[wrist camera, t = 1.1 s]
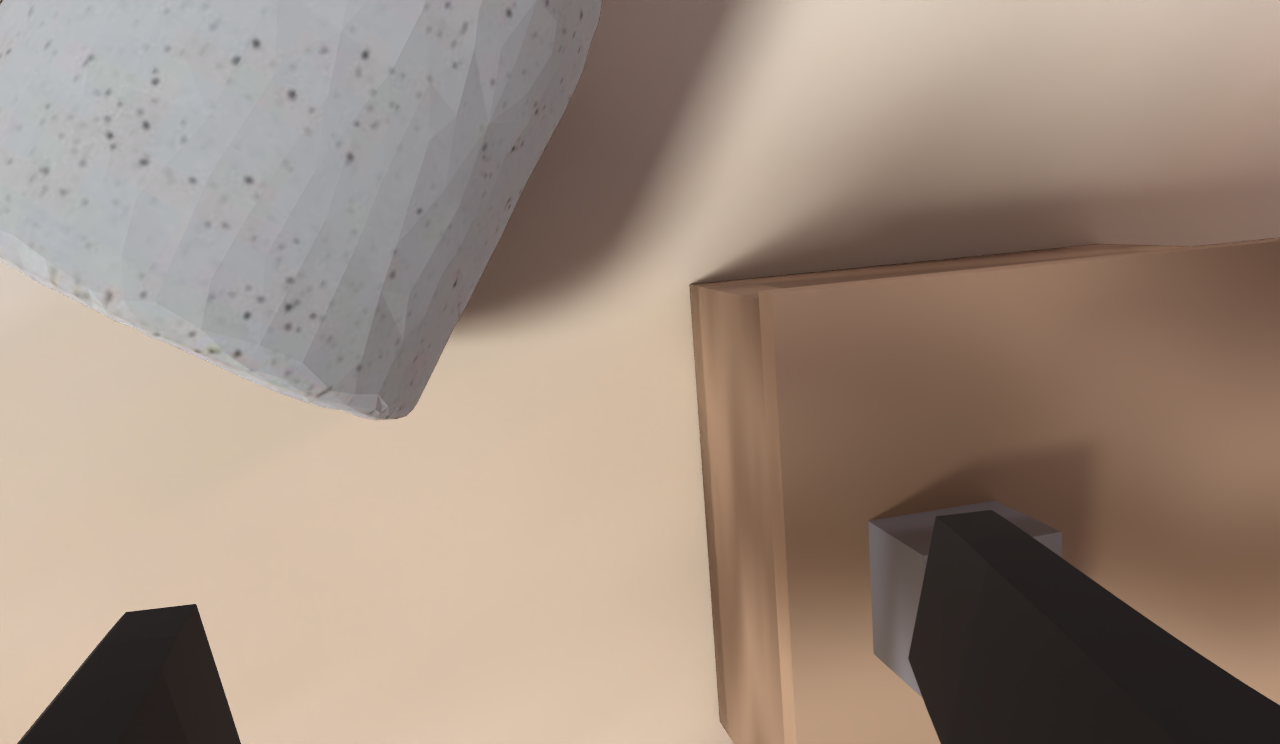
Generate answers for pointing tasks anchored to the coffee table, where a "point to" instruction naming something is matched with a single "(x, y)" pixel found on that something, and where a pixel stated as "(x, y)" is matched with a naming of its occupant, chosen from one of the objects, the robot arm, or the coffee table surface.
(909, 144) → the coffee table surface
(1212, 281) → the lid
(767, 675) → the keepsake box
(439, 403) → the coffee table surface
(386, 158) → the ceramic mug
